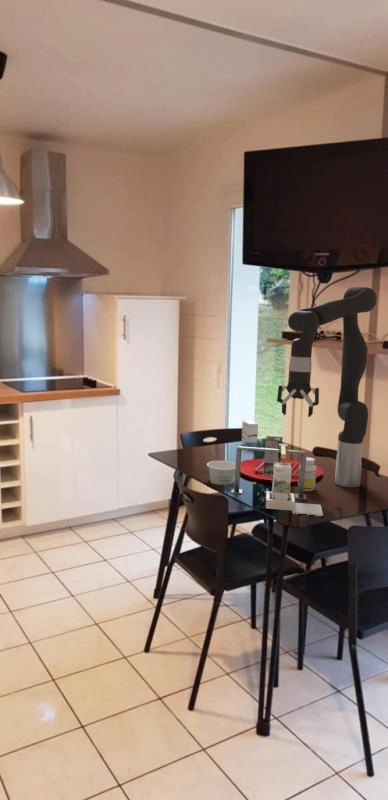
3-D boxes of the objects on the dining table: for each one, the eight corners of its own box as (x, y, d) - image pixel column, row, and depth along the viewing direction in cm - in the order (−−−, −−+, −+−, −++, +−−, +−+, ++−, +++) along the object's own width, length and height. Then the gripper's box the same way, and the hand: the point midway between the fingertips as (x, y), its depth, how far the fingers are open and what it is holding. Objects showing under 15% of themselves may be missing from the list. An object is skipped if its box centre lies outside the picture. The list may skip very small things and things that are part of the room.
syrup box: (287, 502, 214) (290, 462, 211) (288, 508, 208) (291, 467, 205) (270, 501, 214) (273, 461, 212) (272, 507, 208) (274, 466, 206)
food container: (213, 487, 227) (214, 470, 226) (201, 477, 238) (201, 461, 237) (242, 484, 232) (243, 468, 231) (229, 475, 243) (230, 459, 242)
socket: (293, 501, 215) (293, 493, 215) (294, 510, 206) (294, 502, 205) (266, 499, 216) (266, 491, 216) (265, 508, 207) (266, 499, 206)
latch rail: (306, 496, 222) (309, 450, 219) (306, 499, 218) (310, 453, 215) (231, 490, 225) (234, 445, 222) (230, 493, 221) (233, 447, 218)
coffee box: (279, 482, 237) (281, 441, 234) (262, 480, 238) (264, 440, 235) (280, 475, 245) (283, 436, 243) (264, 474, 247) (266, 435, 244)
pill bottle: (302, 484, 235) (305, 455, 233) (318, 488, 231) (320, 459, 229) (294, 488, 230) (296, 458, 228) (309, 492, 226) (311, 462, 224)
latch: (287, 448, 219) (287, 444, 219) (287, 459, 205) (288, 454, 204) (278, 447, 219) (278, 443, 219) (278, 458, 205) (279, 453, 205)
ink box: (257, 448, 289) (258, 423, 287) (247, 448, 287) (248, 423, 285) (250, 443, 297) (251, 419, 295) (240, 443, 295) (242, 420, 293)
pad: (320, 506, 211) (320, 504, 211) (322, 516, 202) (323, 514, 201) (291, 504, 212) (291, 502, 212) (292, 514, 203) (292, 512, 203)
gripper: (321, 369, 213) (318, 415, 216) (280, 367, 217) (277, 412, 219) (320, 372, 206) (316, 419, 209) (278, 369, 209) (275, 415, 212)
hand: (296, 415), depth 214 cm, fingers open, 8 cm apart
